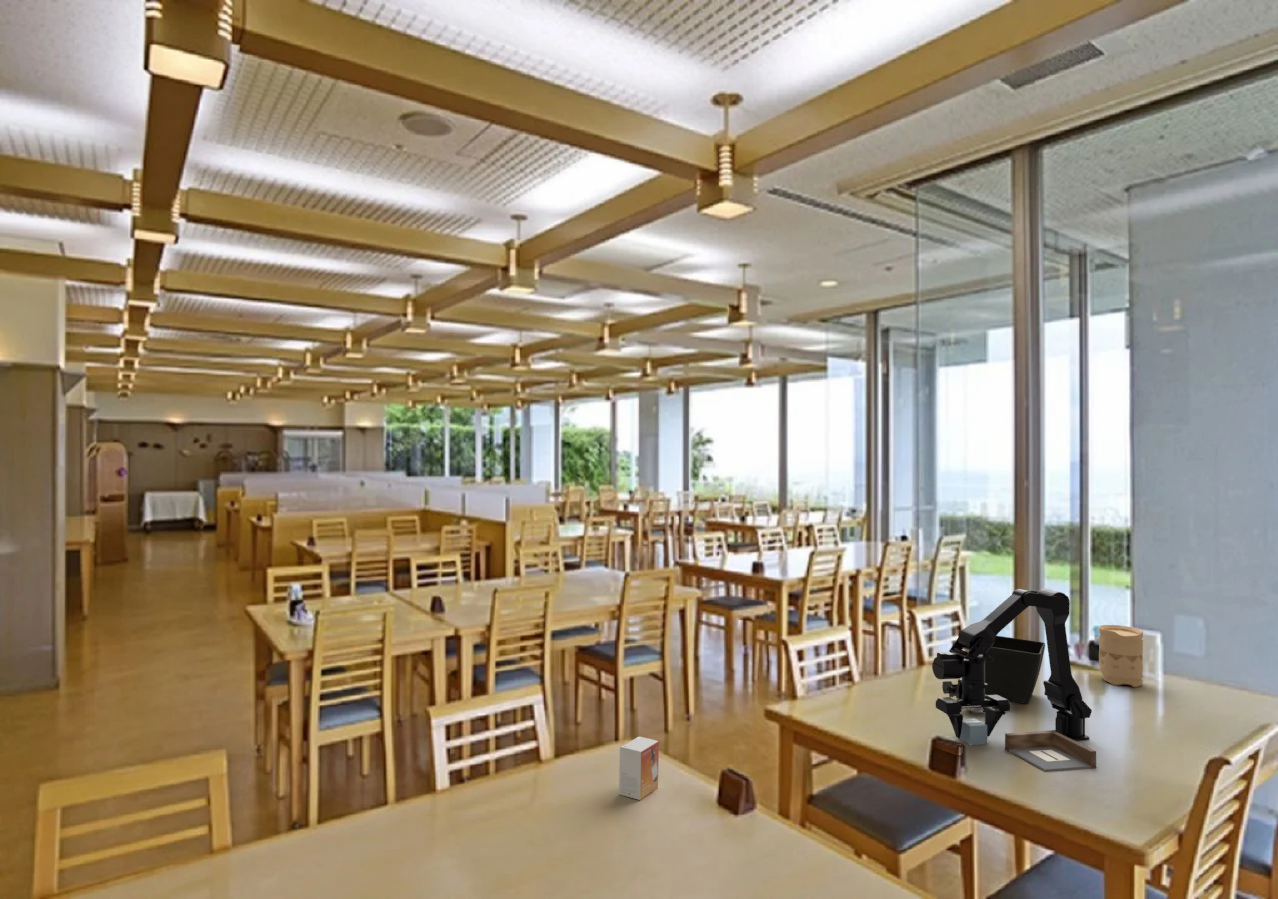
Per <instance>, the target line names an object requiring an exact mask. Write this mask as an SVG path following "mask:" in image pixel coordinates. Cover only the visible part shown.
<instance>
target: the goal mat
mask: <svg viewBox="0 0 1278 899" xmlns="http://www.w3.org/2000/svg"><path fill="white" fill-rule="evenodd" d="M1004 749H1005V750H1006V749H1007V750H1006V751H1008V752H1009V753H1011V754H1013V755H1015V756H1017V757H1018V758H1020V759H1022V760H1024V762H1027V763H1029V764H1031V765H1032V766H1034V767H1036V768H1038V769H1039V770H1041V771H1042V772H1046V773H1047V772H1056V771H1059V772H1060V771H1072V770H1081V769H1082V770H1083V769H1086V770H1087V769H1093V768H1092V767H1096V768H1097V765H1096V766H1090V765H1088V764H1086V763H1084V762H1082V761H1080V760H1078V759H1076V758H1074V757H1072V756H1070V755H1068V754H1067V753H1065V752H1063V751H1061V750H1059V749H1057V748H1055V747H1053V746H1049V747H1034V748H1020V749H1008V748H1006V747H1005V746H1004Z"/></svg>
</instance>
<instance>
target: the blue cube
mask: <svg viewBox="0 0 1278 899" xmlns="http://www.w3.org/2000/svg"><path fill="white" fill-rule="evenodd" d="M958 740H961V741H963V742H964V743H966V744H967V745H969V746H974V745H975V746H977V745H987V744H988V736H987V725H986V724H985V722H983V721H981V720H979V719H977V718H963V722H962V730H961V736H960V738H958Z"/></svg>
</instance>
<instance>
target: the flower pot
mask: <svg viewBox="0 0 1278 899" xmlns="http://www.w3.org/2000/svg"><path fill="white" fill-rule="evenodd" d="M1045 648H1046V642H1043V641H1037V640H1031V639H1030V640H1029V639H1024V638H1017V637H1016V638H1015V637H1009V636H1002V635H996V638H995V641H994V644H993V645H992V646H991V647H990V648H989V650H988V651H987V654H988V655H989V656H990V657H991V658H992V659H993V661H992V662H985V683H986V684H988V688H985V694H986V695H999V696H1001V697H1003V698H1005V699H1007V700H1008V701H1009V702H1014V703H1020V704H1024V705H1025V704H1029V703H1030V701H1031V698H1032V696H1033V693H1034V690H1035V688H1036V684H1037V681H1038V678H1039V675H1040V671H1041V667H1042V665H1043V664H1042V663H1043V660H1044V659H1043V658H1044V654H1045Z"/></svg>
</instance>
